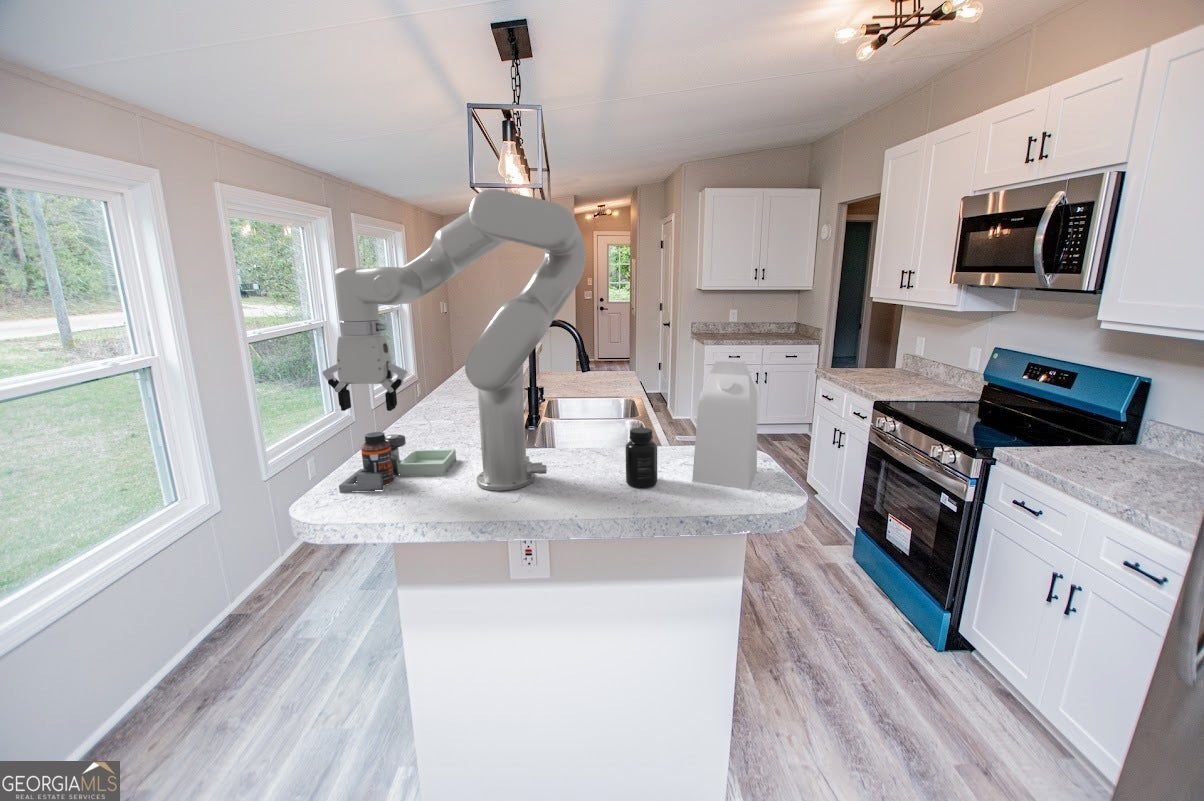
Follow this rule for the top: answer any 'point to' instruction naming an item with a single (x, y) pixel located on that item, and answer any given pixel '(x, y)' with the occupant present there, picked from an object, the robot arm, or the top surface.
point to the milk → (727, 428)
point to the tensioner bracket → (367, 480)
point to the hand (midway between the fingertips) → (368, 409)
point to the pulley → (395, 444)
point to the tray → (427, 462)
